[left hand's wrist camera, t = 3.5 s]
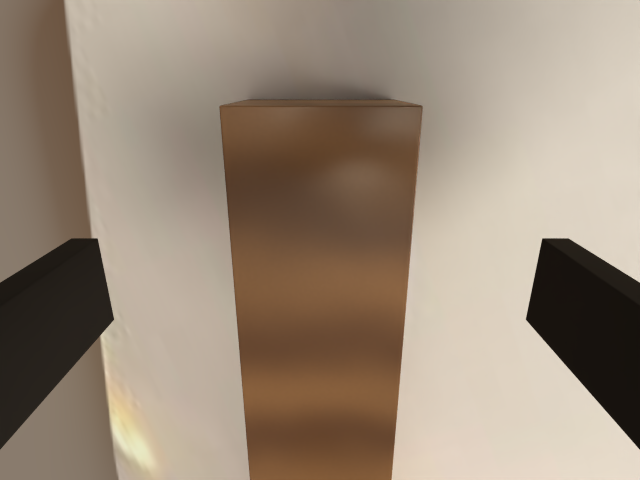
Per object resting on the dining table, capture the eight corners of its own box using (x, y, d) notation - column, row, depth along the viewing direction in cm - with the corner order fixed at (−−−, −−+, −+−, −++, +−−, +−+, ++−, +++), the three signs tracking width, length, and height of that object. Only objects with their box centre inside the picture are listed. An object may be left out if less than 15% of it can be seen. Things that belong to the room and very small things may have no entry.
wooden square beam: (247, 99, 25) (219, 105, 18) (394, 99, 25) (423, 105, 18) (278, 625, 44) (270, 728, 37) (362, 626, 44) (370, 728, 37)
